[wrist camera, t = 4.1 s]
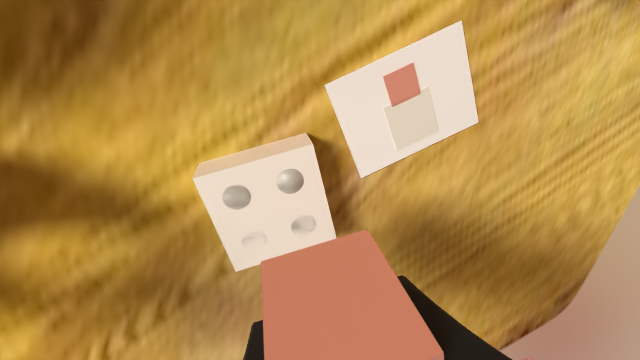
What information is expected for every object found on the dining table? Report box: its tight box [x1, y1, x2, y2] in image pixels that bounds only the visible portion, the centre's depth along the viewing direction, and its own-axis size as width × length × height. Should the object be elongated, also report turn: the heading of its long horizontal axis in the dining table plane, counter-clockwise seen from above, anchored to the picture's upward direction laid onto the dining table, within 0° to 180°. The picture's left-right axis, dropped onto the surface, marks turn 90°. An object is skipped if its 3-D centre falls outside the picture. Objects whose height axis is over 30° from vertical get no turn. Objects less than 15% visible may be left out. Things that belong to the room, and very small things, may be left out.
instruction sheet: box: [324, 20, 478, 178], centre depth 17 cm, size 6×8×1 cm
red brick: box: [261, 229, 444, 360], centre depth 9 cm, size 4×4×5 cm
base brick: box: [193, 133, 336, 272], centre depth 17 cm, size 6×6×2 cm
